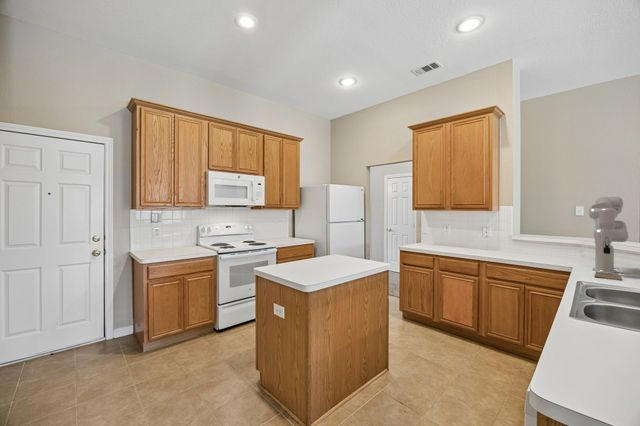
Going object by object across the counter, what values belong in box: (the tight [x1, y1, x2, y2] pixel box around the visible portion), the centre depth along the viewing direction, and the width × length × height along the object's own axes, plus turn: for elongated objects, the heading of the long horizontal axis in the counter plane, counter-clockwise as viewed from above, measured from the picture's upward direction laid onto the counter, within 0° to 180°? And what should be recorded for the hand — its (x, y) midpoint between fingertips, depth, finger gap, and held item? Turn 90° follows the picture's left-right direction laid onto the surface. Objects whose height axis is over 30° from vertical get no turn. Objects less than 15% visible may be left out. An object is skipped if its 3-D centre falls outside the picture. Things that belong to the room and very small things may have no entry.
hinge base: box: [594, 273, 623, 282], centre depth 181 cm, size 13×12×2 cm
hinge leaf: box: [595, 271, 620, 276], centre depth 189 cm, size 13×11×2 cm
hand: (606, 253), depth 192 cm, fingers closed
